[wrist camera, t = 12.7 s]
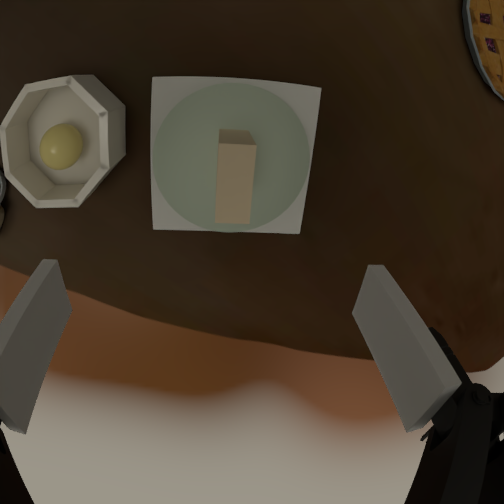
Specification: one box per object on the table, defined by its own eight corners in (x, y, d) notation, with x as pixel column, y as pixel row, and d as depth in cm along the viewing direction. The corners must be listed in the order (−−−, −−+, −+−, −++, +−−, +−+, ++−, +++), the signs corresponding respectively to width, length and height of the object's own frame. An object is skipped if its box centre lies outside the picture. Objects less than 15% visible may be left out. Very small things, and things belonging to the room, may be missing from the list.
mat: (153, 77, 28) (152, 77, 28) (319, 87, 31) (321, 88, 30) (154, 226, 38) (153, 229, 37) (298, 231, 40) (299, 233, 39)
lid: (156, 81, 28) (133, 82, 20) (315, 91, 30) (347, 96, 22) (156, 226, 37) (141, 268, 29) (295, 230, 39) (315, 272, 31)
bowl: (25, 86, 26) (-2, 91, 21) (126, 71, 28) (109, 69, 22) (33, 190, 33) (10, 209, 28) (127, 187, 35) (112, 207, 29)
